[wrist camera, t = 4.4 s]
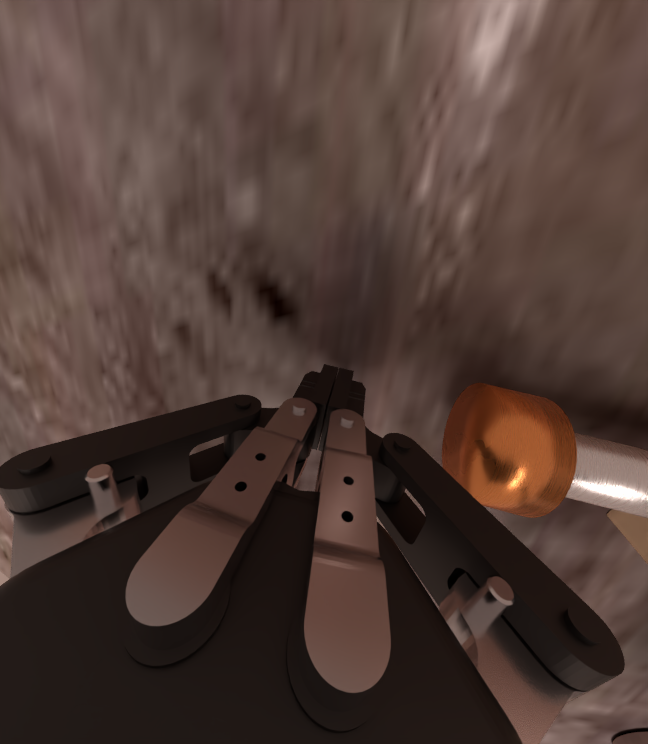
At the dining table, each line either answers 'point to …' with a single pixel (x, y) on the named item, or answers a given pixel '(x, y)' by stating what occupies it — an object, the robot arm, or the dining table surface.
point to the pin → (536, 456)
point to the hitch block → (632, 530)
